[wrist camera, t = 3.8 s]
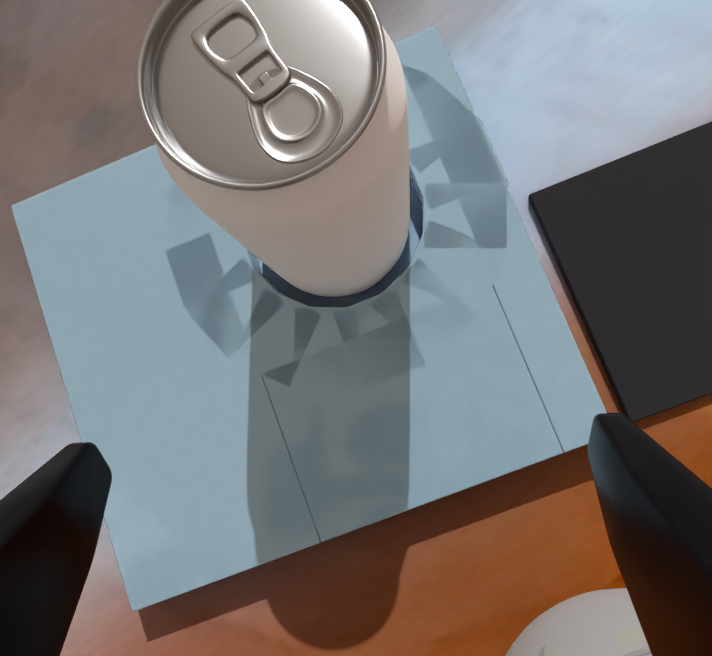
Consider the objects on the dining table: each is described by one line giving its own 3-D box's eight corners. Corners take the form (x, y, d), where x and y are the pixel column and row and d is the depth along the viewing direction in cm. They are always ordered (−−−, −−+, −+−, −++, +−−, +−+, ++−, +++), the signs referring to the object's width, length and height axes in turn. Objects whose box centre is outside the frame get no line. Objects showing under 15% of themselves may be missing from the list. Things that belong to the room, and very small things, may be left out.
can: (320, 329, 23) (223, 270, 11) (235, 215, 24) (63, 50, 12) (441, 237, 23) (470, 80, 11) (350, 126, 24) (288, -128, 12)
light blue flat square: (149, 599, 23) (131, 612, 21) (25, 193, 25) (3, 182, 24) (606, 429, 22) (620, 432, 20) (427, 22, 24) (428, 0, 23)
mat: (628, 422, 22) (632, 422, 21) (527, 197, 23) (529, 194, 23) (876, 330, 21) (885, 329, 21) (758, 105, 22) (764, 100, 22)
